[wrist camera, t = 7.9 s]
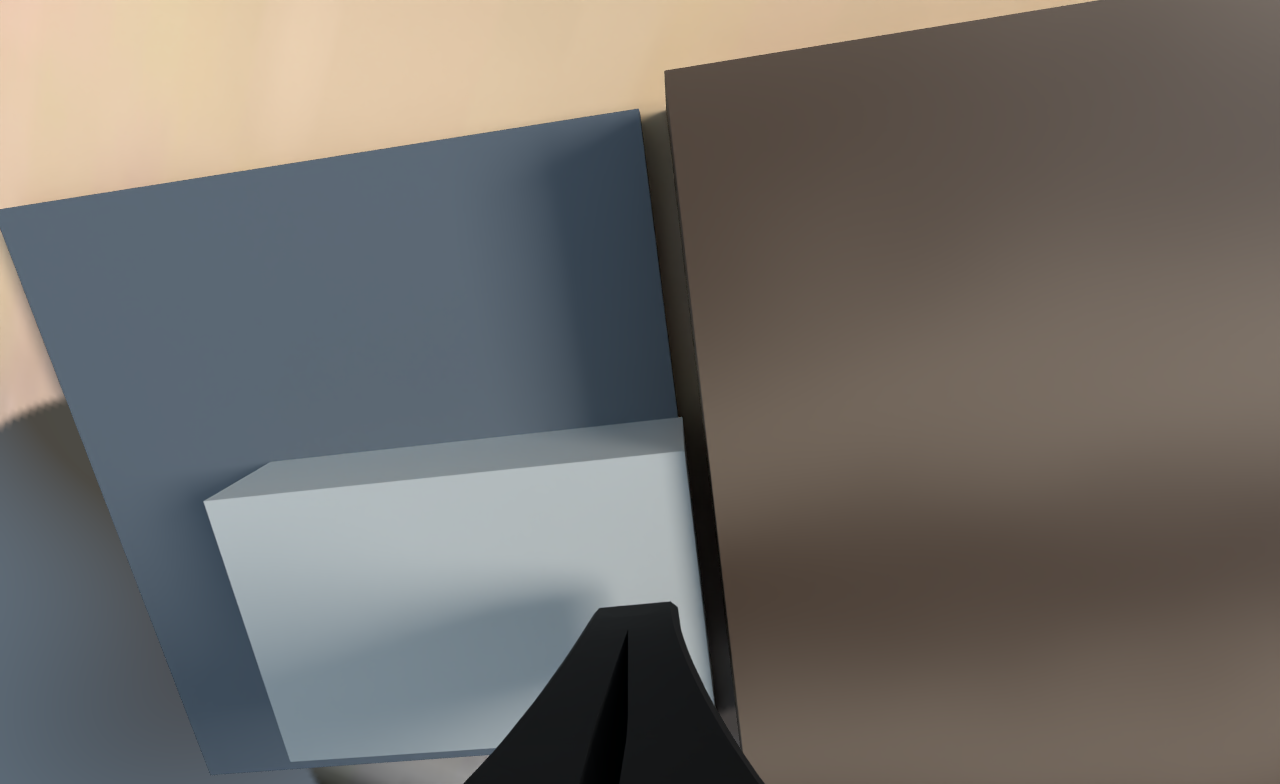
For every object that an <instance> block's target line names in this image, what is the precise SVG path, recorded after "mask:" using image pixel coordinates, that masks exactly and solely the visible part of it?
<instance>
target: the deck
mask: <svg viewBox="0 0 1280 784" xmlns="http://www.w3.org/2000/svg"><path fill="white" fill-rule="evenodd" d="M664 73H665V95H666V112H667V121H668V130H669V138H670V147H671V155H672V164H673V173H674V181H675V190H676V198H677V207H678V216H679V224H680V233H681V241H682V250H683V259H684V267H685V276H686V284H687V293H688V302H689V310H690V319H691V327H692V336H693V344H694V353H695V362H696V370H697V379H698V387H699V396H700V405H701V413H702V422H703V430H704V439H705V448H706V456H707V465H708V473H709V482H710V491H711V499H712V508H713V516H714V525H715V534H716V542H717V551H718V559H719V568H720V577H721V585H722V594H723V602H724V611H725V619H726V628H727V637H728V645H729V654H730V662H731V671H732V680H733V688H734V697H735V705H736V714H737V722H738V731H739V740H740V748H741V750H742V752H743V753H744V755H745V756H746V758H747V759H748V761H749V762H750V764H751V765H752V766H753V768H754V769H755V771H756V772H757V774H758V775H759V777H760V778H761V779H762V781H763V782H764V783H765V784H1280V0H1098V1H1092V2H1086V3H1080V4H1073V5H1067V6H1061V7H1055V8H1049V9H1043V10H1036V11H1030V12H1024V13H1018V14H1012V15H1006V16H999V17H993V18H987V19H981V20H975V21H969V22H962V23H956V24H950V25H944V26H938V27H932V28H925V29H919V30H913V31H907V32H901V33H895V34H888V35H882V36H876V37H870V38H864V39H858V40H851V41H845V42H839V43H833V44H827V45H821V46H814V47H808V48H802V49H796V50H790V51H784V52H777V53H771V54H765V55H759V56H753V57H747V58H740V59H734V60H728V61H722V62H716V63H710V64H703V65H697V66H691V67H685V68H679V69H673V70H666V71H664Z"/></svg>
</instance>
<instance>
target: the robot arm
mask: <svg viewBox="0 0 1280 784" xmlns="http://www.w3.org/2000/svg"><path fill="white" fill-rule="evenodd" d="M464 784H765V783H764V782H763V781H762V779H761V778H760V777H759V775H758V774H757V772H756V771H755V769H754V768H753V766H752V765H751V764H750V762H749V761H748V759H747V758H746V756H745V755H744V753H743V752H742V750H741V749H740V747H739V746H738V744H737V743H736V741H735V740H734V738H733V736H732V735H731V733H730V732H729V730H728V728H727V727H726V725H725V723H724V721H723V720H722V718H721V716H720V714H719V713H718V711H717V709H716V707H715V706H714V704H713V702H712V700H711V698H710V696H709V694H708V692H707V691H706V689H705V687H704V684H703V682H702V680H701V678H700V676H699V674H698V672H697V670H696V668H695V665H694V663H693V661H692V659H691V656H690V654H689V651H688V649H687V646H686V643H685V640H684V637H683V634H682V631H681V626H680V618H679V611H678V607H677V606H676V605H675V604H673V603H672V602H671V601H669V602H658V603H647V604H636V605H625V606H614V607H603V608H599V609H598V610H597V611H596V612H595V613H594V615H593V616H592V618H591V619H590V621H589V623H588V624H587V626H586V627H585V629H584V630H583V632H582V633H581V635H580V637H579V638H578V640H577V641H576V643H575V644H574V646H573V647H572V649H571V650H570V652H569V653H568V655H567V656H566V658H565V659H564V661H563V662H562V664H561V665H560V666H559V668H558V669H557V671H556V672H555V673H554V675H553V676H552V678H551V679H550V680H549V682H548V683H547V685H546V686H545V687H544V689H543V690H542V692H541V693H540V694H539V696H538V697H537V698H536V700H535V701H534V702H533V703H532V705H531V706H530V707H529V708H528V710H527V711H526V712H525V713H524V715H523V716H522V717H521V718H520V720H519V721H518V722H517V723H516V725H515V726H514V727H513V728H512V730H511V731H510V732H509V733H508V735H507V736H506V737H505V738H504V739H503V741H502V742H501V743H500V744H499V745H498V746H497V748H496V749H495V750H494V751H493V752H492V753H491V754H490V756H489V757H488V758H487V759H486V760H485V761H484V762H483V763H482V764H481V766H480V767H479V768H478V769H477V770H476V771H475V772H474V773H473V774H472V775H471V776H470V777H469V778H468V779H467V780H466V781H465V782H464Z"/></svg>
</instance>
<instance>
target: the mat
mask: <svg viewBox="0 0 1280 784" xmlns="http://www.w3.org/2000/svg"><path fill="white" fill-rule="evenodd" d="M0 229H1V232H2V234H3V237H4V239H5V242H6V245H7V247H8V250H9V252H10V255H11V258H12V260H13V263H14V265H15V268H16V271H17V273H18V276H19V278H20V281H21V284H22V286H23V289H24V291H25V294H26V297H27V299H28V302H29V304H30V307H31V310H32V312H33V315H34V317H35V320H36V323H37V325H38V328H39V330H40V333H41V336H42V338H43V341H44V343H45V346H46V349H47V351H48V354H49V356H50V359H51V362H52V364H53V367H54V369H55V372H56V375H57V377H58V380H59V382H60V385H61V388H62V390H63V393H64V395H65V398H66V401H67V403H68V406H69V408H70V411H71V414H72V416H73V419H74V421H75V424H76V427H77V429H78V432H79V434H80V437H81V440H82V442H83V445H84V447H85V450H86V452H87V455H88V458H89V460H90V463H91V466H92V468H93V471H94V473H95V476H96V479H97V481H98V484H99V486H100V489H101V492H102V494H103V497H104V499H105V502H106V505H107V507H108V510H109V512H110V515H111V518H112V520H113V523H114V525H115V528H116V531H117V533H118V536H119V538H120V541H121V544H122V546H123V549H124V552H125V554H126V557H127V559H128V562H129V565H130V567H131V570H132V572H133V575H134V578H135V580H136V582H137V585H138V588H139V591H140V593H141V596H142V598H143V601H144V603H145V606H146V609H147V611H148V614H149V617H150V619H151V622H152V624H153V627H154V629H155V632H156V635H157V637H158V640H159V642H160V645H161V648H162V650H163V653H164V656H165V658H166V660H167V663H168V666H169V668H170V671H171V674H172V676H173V679H174V682H175V684H176V687H177V689H178V691H179V695H180V697H181V700H182V702H183V705H184V708H185V710H186V713H187V715H188V718H189V720H190V723H191V726H192V728H193V731H194V734H195V736H196V739H197V741H198V744H199V746H200V749H201V752H202V754H203V757H204V760H205V762H206V765H207V767H208V770H209V773H210V775H217V774H231V773H245V772H259V771H271V770H272V771H273V770H285V769H286V770H287V769H301V768H315V767H328V766H342V765H356V764H370V763H383V762H397V761H411V760H425V759H439V758H452V757H466V756H480V755H490V754H491V753H492V752H493V751H494V750H495V749H496V748H489V749H475V750H460V751H445V752H430V753H415V754H401V755H386V756H371V757H356V758H342V759H327V760H312V761H297V762H290V759H289V756H288V753H287V750H286V747H285V744H284V741H283V738H282V735H281V732H280V729H279V726H278V723H277V720H276V717H275V714H274V711H273V708H272V705H271V702H270V699H269V696H268V693H267V690H266V687H265V684H264V681H263V679H262V676H261V673H260V670H259V667H258V664H257V661H256V658H255V655H254V652H253V649H252V646H251V643H250V640H249V637H248V634H247V631H246V628H245V625H244V622H243V619H242V616H241V613H240V610H239V607H238V604H237V601H236V598H235V595H234V592H233V589H232V586H231V583H230V580H229V577H228V574H227V571H226V568H225V565H224V562H223V559H222V556H221V553H220V550H219V547H218V544H217V541H216V538H215V535H214V532H213V529H212V526H211V523H210V520H209V517H208V514H207V511H206V508H205V505H204V502H203V501H205V500H206V499H208V498H210V497H212V496H213V495H215V494H217V493H218V492H220V491H222V490H223V489H225V488H227V487H229V486H230V485H232V484H234V483H235V482H237V481H239V480H240V479H242V478H244V477H246V476H247V475H249V474H251V473H252V472H254V471H256V470H258V469H259V468H261V467H263V466H264V465H266V464H268V463H269V462H274V461H283V460H292V459H302V458H311V457H320V456H329V455H338V454H347V453H357V452H366V451H375V450H384V449H393V448H402V447H411V446H421V445H430V444H439V443H448V442H457V441H466V440H476V439H485V438H494V437H503V436H512V435H521V434H531V433H540V432H549V431H558V430H567V429H576V428H586V427H595V426H604V425H613V424H622V423H631V422H640V421H650V420H659V419H668V418H677V417H678V410H677V402H676V394H675V386H674V379H673V371H672V363H671V355H670V347H669V339H668V331H667V323H666V315H665V307H664V299H663V292H662V284H661V276H660V268H659V260H658V252H657V244H656V236H655V228H654V220H653V212H652V205H651V197H650V189H649V181H648V173H647V165H646V157H645V149H644V141H643V133H642V125H641V117H640V112H639V109H633V110H627V111H620V112H614V113H608V114H601V115H595V116H589V117H582V118H576V119H570V120H563V121H557V122H551V123H544V124H538V125H532V126H525V127H519V128H513V129H506V130H500V131H494V132H487V133H481V134H475V135H468V136H462V137H455V138H449V139H443V140H436V141H430V142H424V143H417V144H411V145H405V146H398V147H392V148H386V149H379V150H373V151H367V152H360V153H354V154H348V155H341V156H335V157H329V158H322V159H316V160H310V161H303V162H297V163H291V164H284V165H278V166H272V167H265V168H259V169H253V170H246V171H240V172H234V173H227V174H221V175H214V176H208V177H202V178H195V179H189V180H183V181H176V182H170V183H164V184H157V185H151V186H145V187H138V188H132V189H126V190H119V191H113V192H107V193H100V194H94V195H88V196H81V197H75V198H69V199H62V200H56V201H50V202H43V203H37V204H31V205H24V206H18V207H12V208H5V209H0Z"/></svg>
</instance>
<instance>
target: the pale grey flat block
mask: <svg viewBox="0 0 1280 784" xmlns="http://www.w3.org/2000/svg"><path fill="white" fill-rule="evenodd" d="M203 502H204V505H205V508H206V511H207V514H208V517H209V520H210V523H211V526H212V529H213V532H214V535H215V538H216V541H217V544H218V547H219V550H220V553H221V556H222V559H223V562H224V565H225V568H226V571H227V574H228V577H229V580H230V583H231V586H232V589H233V592H234V595H235V598H236V601H237V604H238V607H239V610H240V613H241V616H242V619H243V622H244V625H245V628H246V631H247V634H248V637H249V640H250V643H251V646H252V649H253V652H254V655H255V658H256V661H257V664H258V667H259V670H260V673H261V676H262V679H263V681H264V684H265V687H266V690H267V693H268V696H269V699H270V702H271V705H272V708H273V711H274V714H275V717H276V720H277V723H278V726H279V729H280V732H281V735H282V738H283V741H284V744H285V747H286V750H287V753H288V756H289V759H290V762H297V761H312V760H327V759H342V758H356V757H371V756H386V755H401V754H415V753H430V752H445V751H460V750H475V749H489V748H497V746H498V745H499V744H500V743H501V742H502V741H503V739H504V738H505V737H506V736H507V735H508V733H509V732H510V731H511V730H512V728H513V727H514V726H515V725H516V723H517V722H518V721H519V720H520V718H521V717H522V716H523V715H524V713H525V712H526V711H527V710H528V708H529V707H530V706H531V705H532V703H533V702H534V701H535V700H536V698H537V697H538V696H539V694H540V693H541V692H542V690H543V689H544V687H545V686H546V685H547V683H548V682H549V680H550V679H551V678H552V676H553V675H554V673H555V672H556V671H557V669H558V668H559V666H560V665H561V664H562V662H563V661H564V659H565V658H566V656H567V655H568V653H569V652H570V650H571V649H572V647H573V646H574V644H575V643H576V641H577V640H578V638H579V637H580V635H581V633H582V632H583V630H584V629H585V627H586V626H587V624H588V623H589V621H590V619H591V618H592V616H593V615H594V613H595V612H596V611H597V610H598V609H599V608H603V607H614V606H625V605H636V604H647V603H658V602H669V601H671V602H672V603H673V604H675V605H676V606H677V607H678V611H679V618H680V626H681V631H682V634H683V637H684V640H685V643H686V646H687V649H688V651H689V654H690V656H691V659H692V661H693V663H694V665H695V668H696V670H697V672H698V674H699V676H700V678H701V680H702V682H703V684H704V687H705V689H706V691H707V692H708V694H709V696H710V698H711V700H712V702H713V704H714V706H715V697H714V687H713V676H712V665H711V656H710V648H709V639H708V631H707V622H706V614H705V605H704V597H703V588H702V580H701V571H700V562H699V554H698V545H697V537H696V528H695V520H694V511H693V503H692V494H691V486H690V477H689V469H688V460H687V452H686V443H685V435H684V426H683V418H682V417H677V418H668V419H659V420H650V421H640V422H631V423H622V424H613V425H604V426H595V427H586V428H576V429H567V430H558V431H549V432H540V433H531V434H521V435H512V436H503V437H494V438H485V439H476V440H466V441H457V442H448V443H439V444H430V445H421V446H411V447H402V448H393V449H384V450H375V451H366V452H357V453H347V454H338V455H329V456H320V457H311V458H302V459H292V460H283V461H274V462H269V463H268V464H266V465H264V466H263V467H261V468H259V469H258V470H256V471H254V472H252V473H251V474H249V475H247V476H246V477H244V478H242V479H240V480H239V481H237V482H235V483H234V484H232V485H230V486H229V487H227V488H225V489H223V490H222V491H220V492H218V493H217V494H215V495H213V496H212V497H210V498H208V499H206V500H205V501H203Z"/></svg>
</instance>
